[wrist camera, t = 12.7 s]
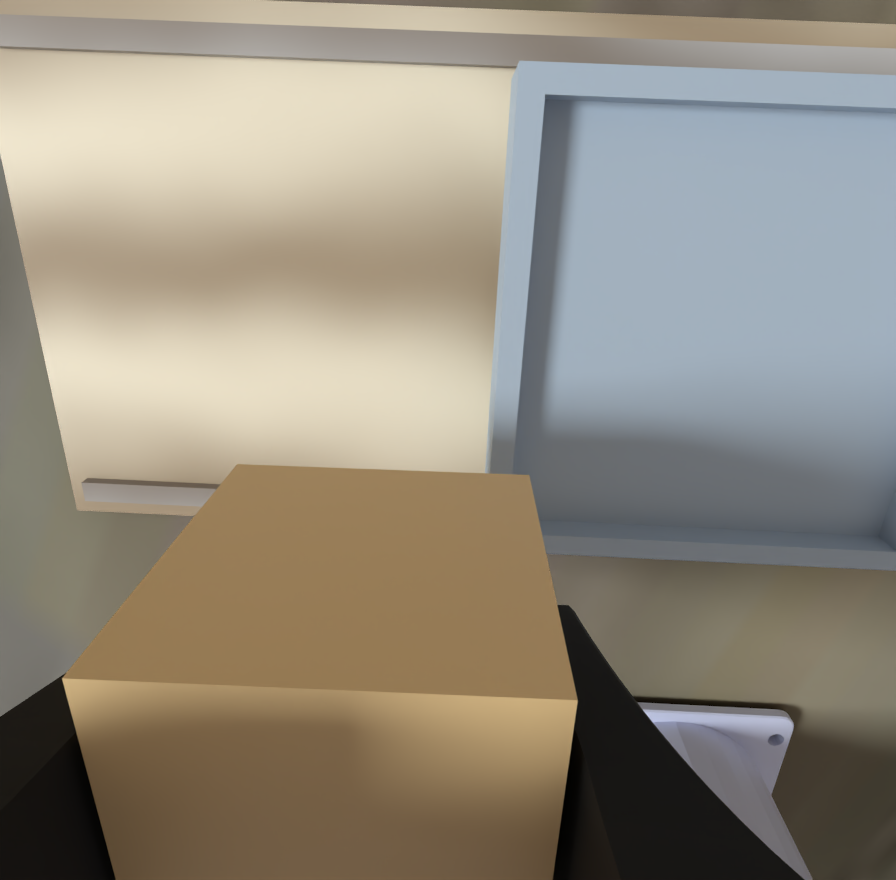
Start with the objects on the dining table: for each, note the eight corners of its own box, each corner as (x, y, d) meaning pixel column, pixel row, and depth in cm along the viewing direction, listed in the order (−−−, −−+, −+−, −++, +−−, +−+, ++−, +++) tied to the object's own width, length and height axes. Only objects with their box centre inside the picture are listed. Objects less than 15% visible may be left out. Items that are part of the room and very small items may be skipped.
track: (910, 543, 19) (969, 592, 16) (84, 503, 19) (34, 546, 17) (1100, 36, 14) (1221, 9, 12) (-22, -6, 14) (-114, -42, 12)
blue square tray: (833, 502, 18) (911, 571, 15) (481, 485, 18) (484, 550, 15) (956, 105, 14) (1099, 83, 11) (507, 87, 14) (519, 60, 11)
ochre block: (509, 700, 12) (534, 1002, 8) (262, 689, 13) (142, 983, 8) (529, 474, 11) (577, 700, 6) (237, 463, 11) (61, 677, 6)
